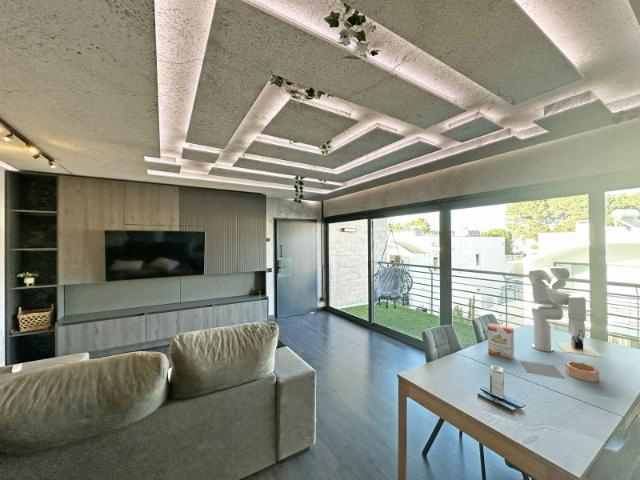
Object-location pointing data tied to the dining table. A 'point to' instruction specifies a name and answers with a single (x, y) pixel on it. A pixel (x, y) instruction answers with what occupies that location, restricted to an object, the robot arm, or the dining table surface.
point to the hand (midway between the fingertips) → (577, 347)
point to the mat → (541, 369)
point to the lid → (572, 350)
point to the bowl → (582, 371)
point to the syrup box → (497, 380)
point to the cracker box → (501, 341)
